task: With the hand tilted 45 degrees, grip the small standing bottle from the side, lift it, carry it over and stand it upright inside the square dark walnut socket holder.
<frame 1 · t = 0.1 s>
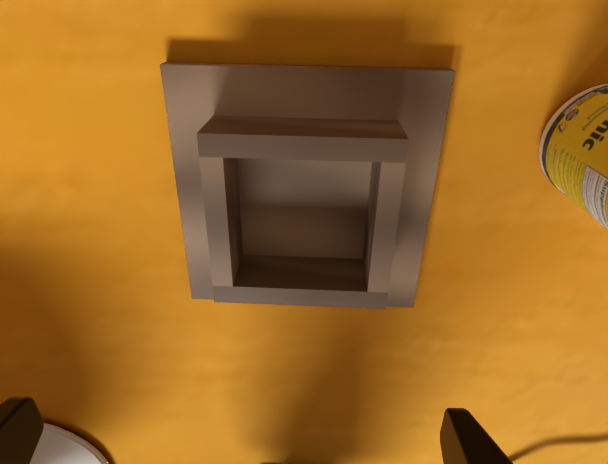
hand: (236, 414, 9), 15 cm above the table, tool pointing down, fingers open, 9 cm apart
supplement bottle: (590, 137, 21), on the table
chalice: (44, 460, 35), on the table
socket holder: (304, 195, 23), on the table
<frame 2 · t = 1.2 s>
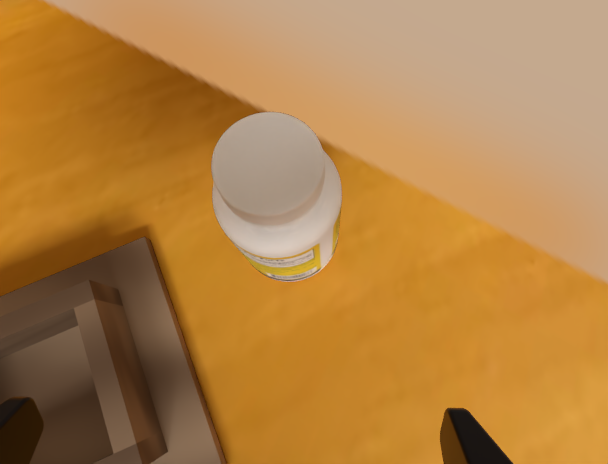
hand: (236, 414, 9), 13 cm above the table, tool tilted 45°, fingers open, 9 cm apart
supplement bottle: (289, 237, 24), on the table
socket holder: (69, 400, 22), on the table
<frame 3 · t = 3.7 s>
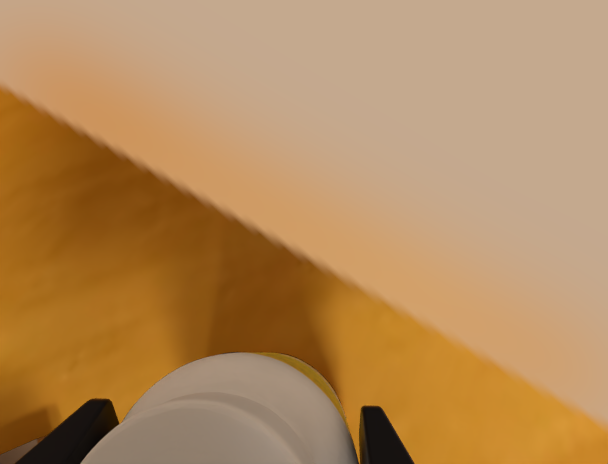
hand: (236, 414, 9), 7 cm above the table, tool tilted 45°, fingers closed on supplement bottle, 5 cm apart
supplement bottle: (270, 430, 15), on the table, touching gripper
when the fingers open (9 cm above the table, at t = 7.8 s): supplement bottle drops 1 cm, resting on socket holder.
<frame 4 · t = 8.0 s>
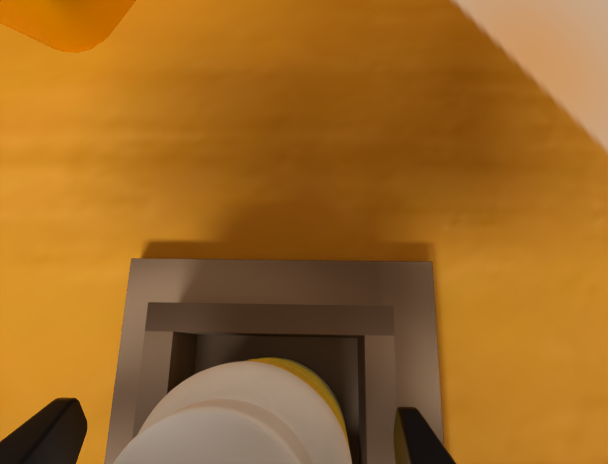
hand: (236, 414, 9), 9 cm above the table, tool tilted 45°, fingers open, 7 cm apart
supplement bottle: (274, 427, 17), point 1 cm above the table, touching socket holder
socket holder: (275, 420, 17), on the table
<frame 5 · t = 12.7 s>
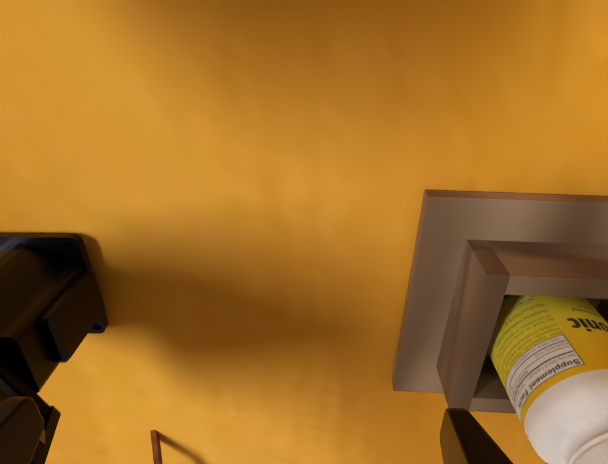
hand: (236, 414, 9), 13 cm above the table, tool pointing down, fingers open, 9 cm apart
supplement bottle: (526, 310, 23), point 1 cm above the table, touching socket holder
socket holder: (524, 302, 23), on the table
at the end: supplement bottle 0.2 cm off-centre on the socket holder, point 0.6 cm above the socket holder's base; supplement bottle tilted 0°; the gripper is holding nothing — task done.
